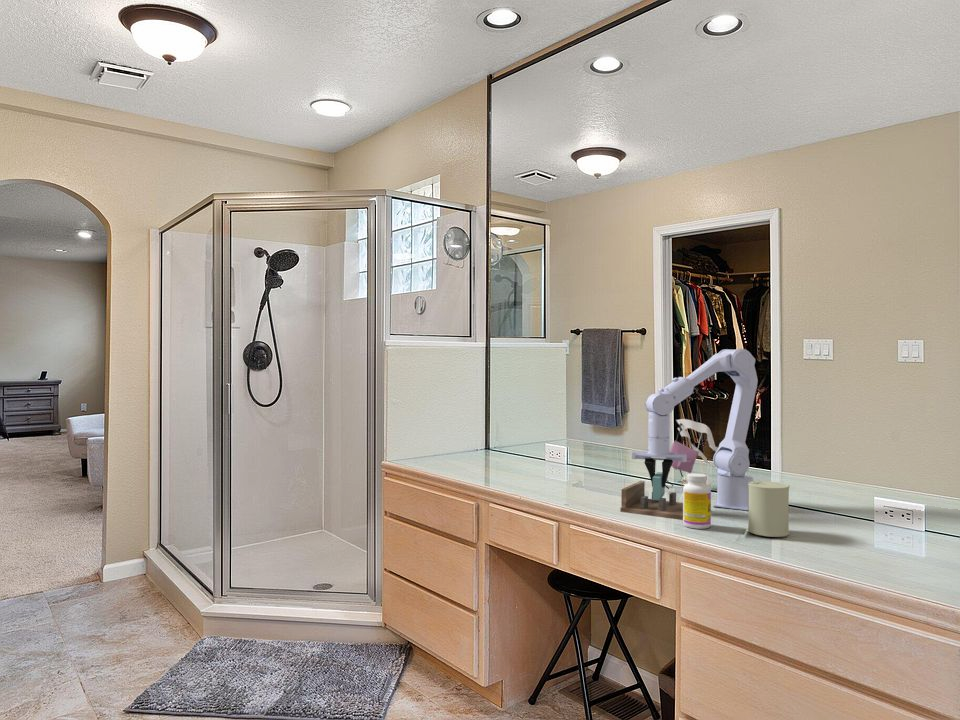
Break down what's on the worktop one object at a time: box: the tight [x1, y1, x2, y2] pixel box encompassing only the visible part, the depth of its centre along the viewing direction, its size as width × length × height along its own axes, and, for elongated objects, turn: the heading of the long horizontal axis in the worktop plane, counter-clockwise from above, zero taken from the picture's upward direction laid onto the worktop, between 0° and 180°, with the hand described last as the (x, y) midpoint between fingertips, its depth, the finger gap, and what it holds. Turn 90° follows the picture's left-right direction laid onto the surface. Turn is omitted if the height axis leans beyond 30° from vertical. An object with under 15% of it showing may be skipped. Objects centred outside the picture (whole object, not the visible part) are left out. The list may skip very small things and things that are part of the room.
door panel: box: [651, 471, 666, 500], centre depth 190 cm, size 2×10×6 cm, turn 158°
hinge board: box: [619, 480, 683, 521], centre depth 189 cm, size 18×16×6 cm
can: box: [747, 480, 790, 538], centre depth 166 cm, size 9×9×12 cm
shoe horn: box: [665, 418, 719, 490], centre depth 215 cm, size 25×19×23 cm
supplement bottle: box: [682, 472, 712, 530], centre depth 171 cm, size 7×7×13 cm
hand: (658, 486), depth 190 cm, fingers closed on door panel, 2 cm apart
